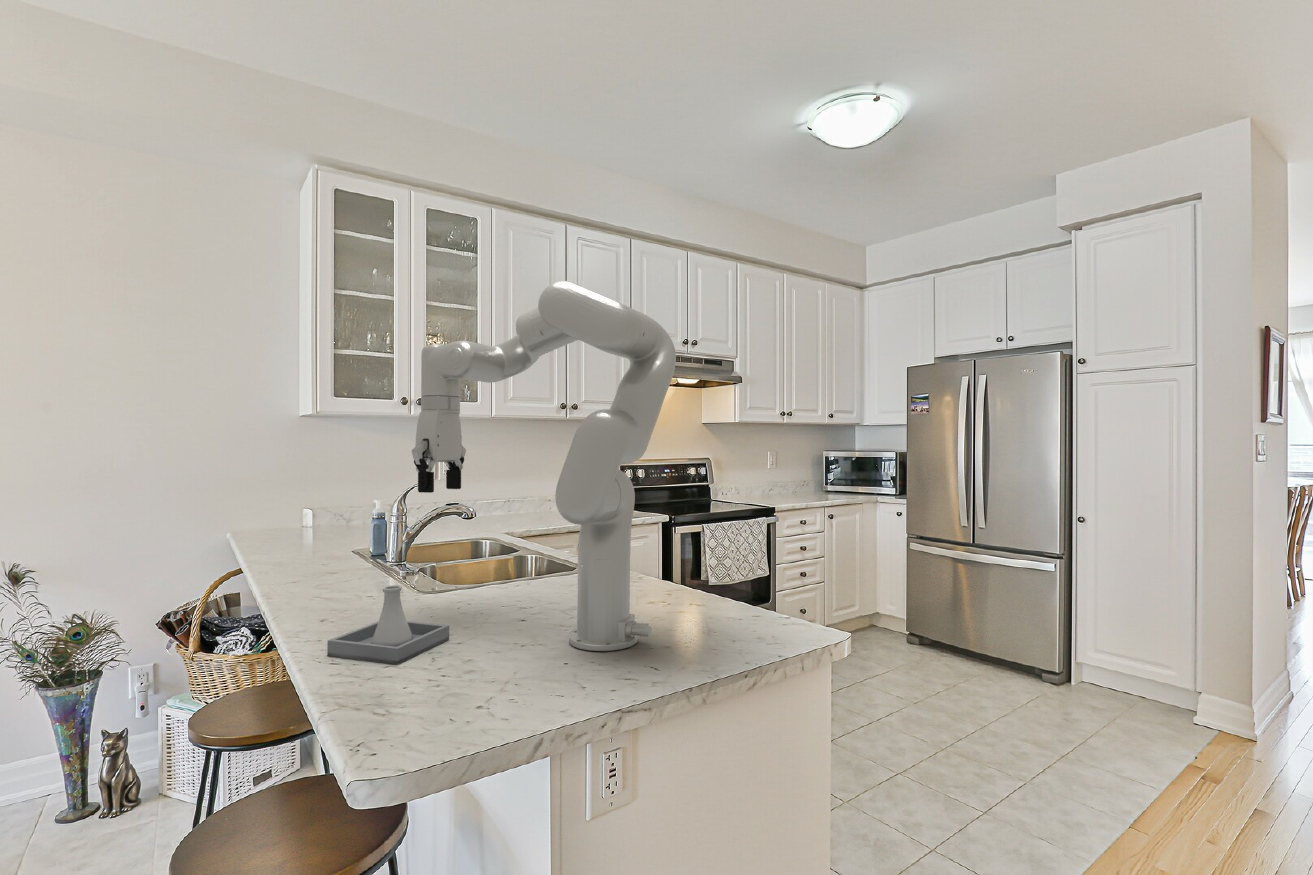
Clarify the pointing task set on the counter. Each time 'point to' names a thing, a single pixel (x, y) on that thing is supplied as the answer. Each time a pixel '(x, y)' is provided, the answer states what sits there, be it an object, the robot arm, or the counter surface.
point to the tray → (362, 649)
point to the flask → (392, 620)
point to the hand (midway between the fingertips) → (440, 490)
